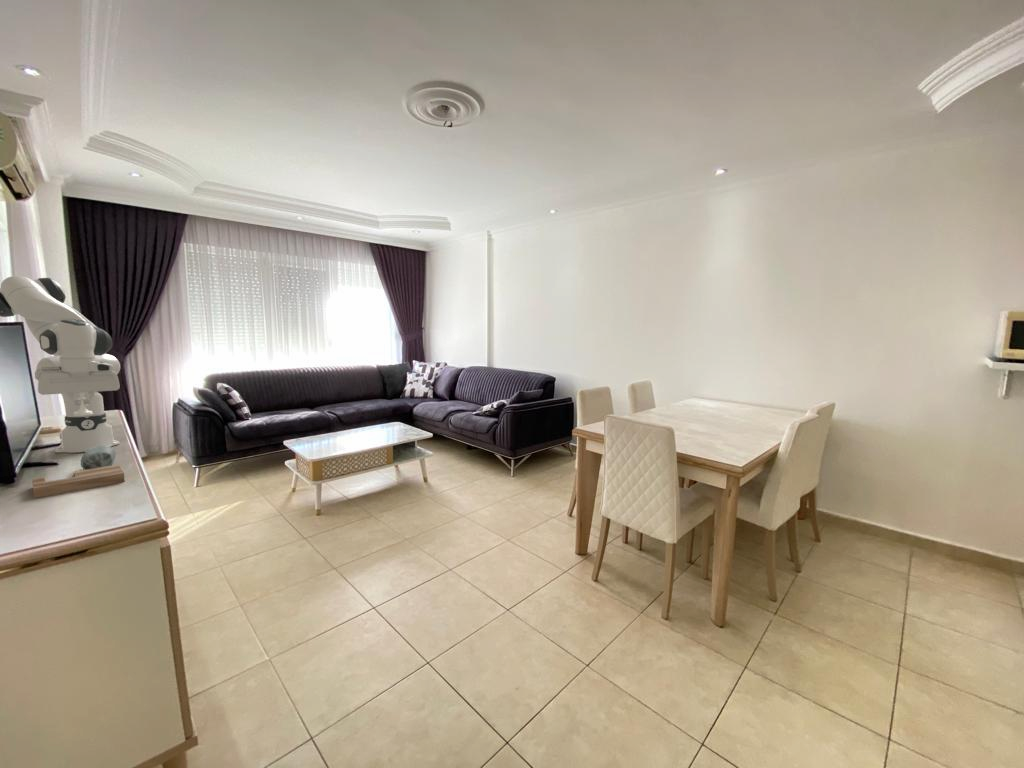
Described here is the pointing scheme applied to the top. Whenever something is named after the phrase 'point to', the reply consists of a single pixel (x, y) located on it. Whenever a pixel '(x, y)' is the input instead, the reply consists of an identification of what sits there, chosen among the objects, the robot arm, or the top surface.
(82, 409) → the chess piece
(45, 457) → the top surface
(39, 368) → the robot arm
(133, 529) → the top surface
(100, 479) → the notch board
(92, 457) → the yarn ball
